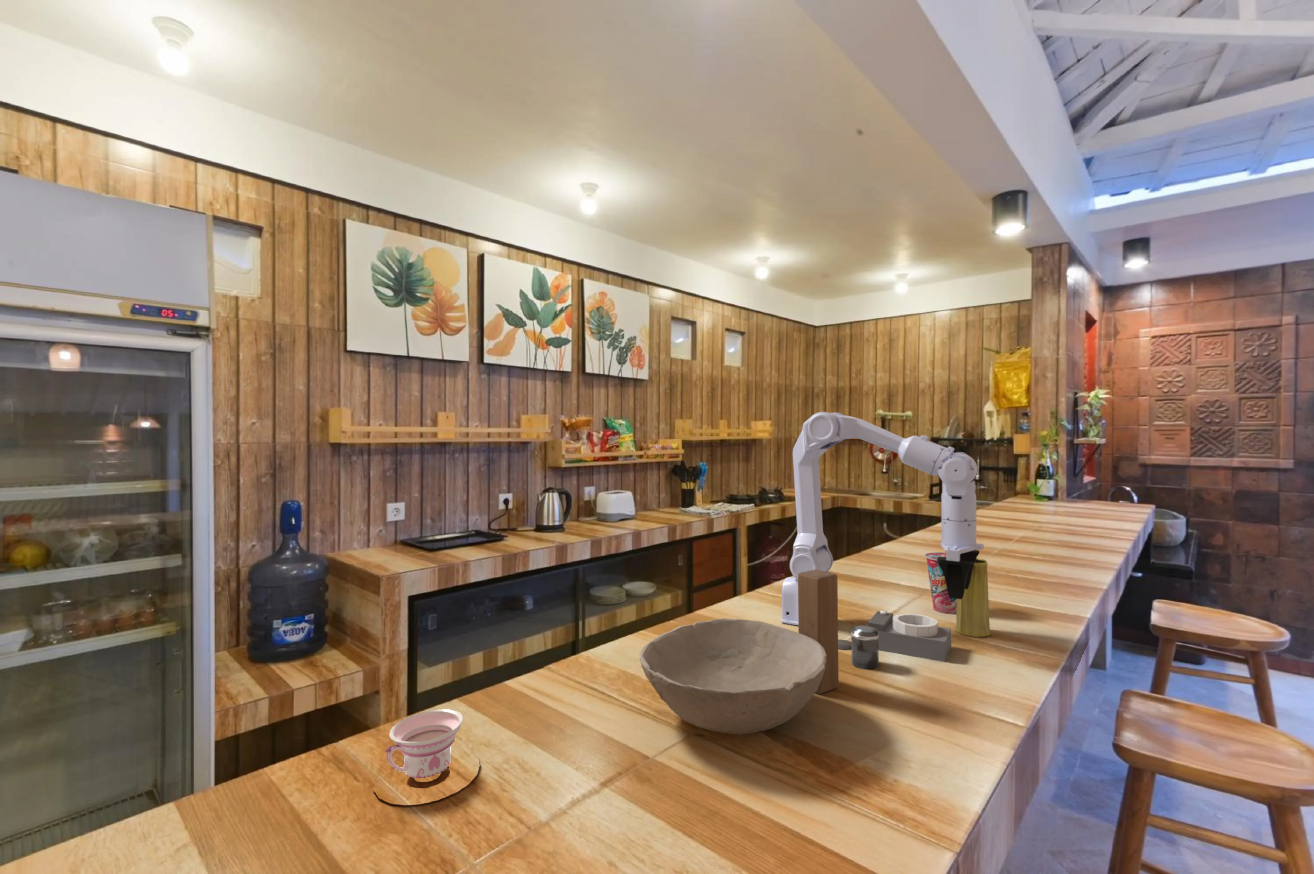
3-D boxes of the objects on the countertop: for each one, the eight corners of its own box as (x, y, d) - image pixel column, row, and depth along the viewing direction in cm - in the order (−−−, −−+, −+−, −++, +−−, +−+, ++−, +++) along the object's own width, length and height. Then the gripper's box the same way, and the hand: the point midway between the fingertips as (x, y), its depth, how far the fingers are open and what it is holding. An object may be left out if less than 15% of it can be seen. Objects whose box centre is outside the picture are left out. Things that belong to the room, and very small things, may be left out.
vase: (982, 627, 121) (981, 556, 121) (996, 638, 115) (995, 563, 115) (950, 626, 122) (950, 556, 122) (963, 637, 116) (962, 563, 116)
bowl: (671, 787, 69) (670, 701, 69) (623, 690, 95) (622, 627, 94) (870, 751, 76) (870, 672, 76) (775, 670, 102) (774, 611, 101)
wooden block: (777, 675, 99) (776, 567, 99) (796, 669, 102) (795, 563, 101) (820, 695, 92) (818, 578, 92) (839, 688, 94) (838, 573, 94)
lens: (848, 666, 103) (847, 630, 103) (855, 657, 107) (855, 622, 107) (875, 671, 100) (875, 634, 100) (881, 662, 104) (881, 627, 104)
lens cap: (825, 648, 112) (825, 645, 112) (832, 640, 116) (832, 637, 116) (851, 653, 109) (851, 650, 109) (858, 645, 113) (858, 642, 113)
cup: (928, 614, 130) (927, 559, 130) (922, 603, 138) (922, 551, 138) (976, 617, 127) (975, 561, 127) (967, 606, 135) (967, 553, 135)
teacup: (446, 740, 81) (445, 694, 80) (500, 771, 73) (499, 721, 73) (354, 782, 71) (353, 730, 71) (405, 823, 64) (404, 765, 64)
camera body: (867, 647, 111) (867, 619, 111) (878, 634, 118) (877, 608, 118) (945, 661, 104) (944, 631, 104) (951, 647, 111) (951, 618, 111)
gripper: (978, 526, 102) (978, 606, 102) (987, 515, 114) (987, 586, 114) (933, 523, 106) (933, 600, 106) (946, 512, 118) (947, 581, 118)
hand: (959, 592), depth 110 cm, fingers open, 7 cm apart
